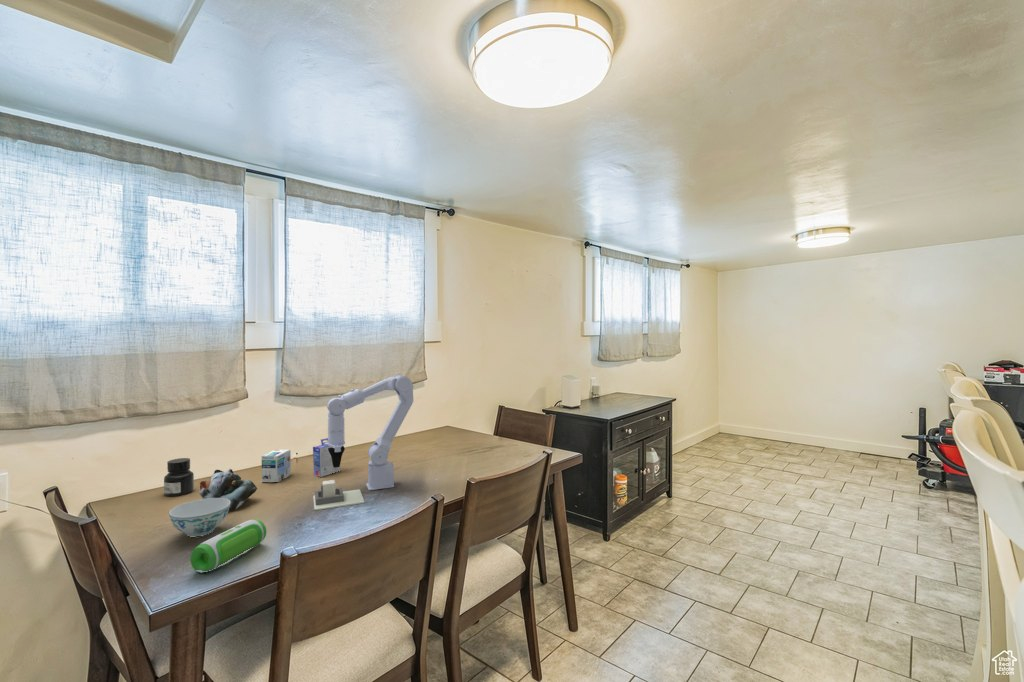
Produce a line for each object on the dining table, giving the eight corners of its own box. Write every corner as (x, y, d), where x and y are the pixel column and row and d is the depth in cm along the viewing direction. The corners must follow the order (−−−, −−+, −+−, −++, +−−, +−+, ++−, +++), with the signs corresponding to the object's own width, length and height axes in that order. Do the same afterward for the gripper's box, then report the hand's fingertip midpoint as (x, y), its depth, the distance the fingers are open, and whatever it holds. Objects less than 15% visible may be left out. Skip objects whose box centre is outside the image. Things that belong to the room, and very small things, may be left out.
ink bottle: (158, 494, 167) (158, 461, 167) (185, 487, 175) (184, 455, 175) (172, 498, 162) (172, 465, 162) (199, 491, 170) (199, 459, 170)
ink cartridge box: (333, 469, 198) (332, 436, 197) (341, 471, 195) (341, 437, 194) (312, 475, 189) (312, 440, 189) (320, 477, 186) (320, 442, 186)
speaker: (247, 542, 129) (246, 515, 129) (268, 545, 127) (268, 518, 127) (188, 573, 112) (188, 543, 112) (212, 577, 110) (211, 547, 110)
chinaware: (162, 548, 125) (161, 520, 125) (177, 527, 139) (177, 501, 138) (225, 538, 131) (225, 512, 131) (234, 519, 145) (234, 495, 144)
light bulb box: (277, 483, 179) (277, 456, 179) (260, 483, 180) (260, 455, 179) (291, 474, 190) (291, 449, 190) (275, 474, 190) (275, 449, 190)
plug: (334, 496, 163) (334, 479, 163) (335, 500, 160) (335, 483, 160) (320, 498, 162) (320, 481, 161) (321, 502, 158) (321, 484, 158)
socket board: (359, 490, 171) (359, 483, 171) (364, 503, 158) (364, 496, 158) (313, 497, 164) (313, 490, 164) (314, 510, 151) (314, 503, 151)
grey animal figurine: (230, 514, 148) (206, 479, 146) (208, 523, 152) (184, 489, 150) (265, 487, 162) (243, 454, 159) (243, 496, 166) (222, 464, 164)
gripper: (323, 427, 174) (323, 463, 174) (325, 435, 161) (325, 473, 161) (343, 426, 177) (343, 461, 177) (346, 433, 164) (346, 471, 164)
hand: (336, 466), depth 169 cm, fingers closed
